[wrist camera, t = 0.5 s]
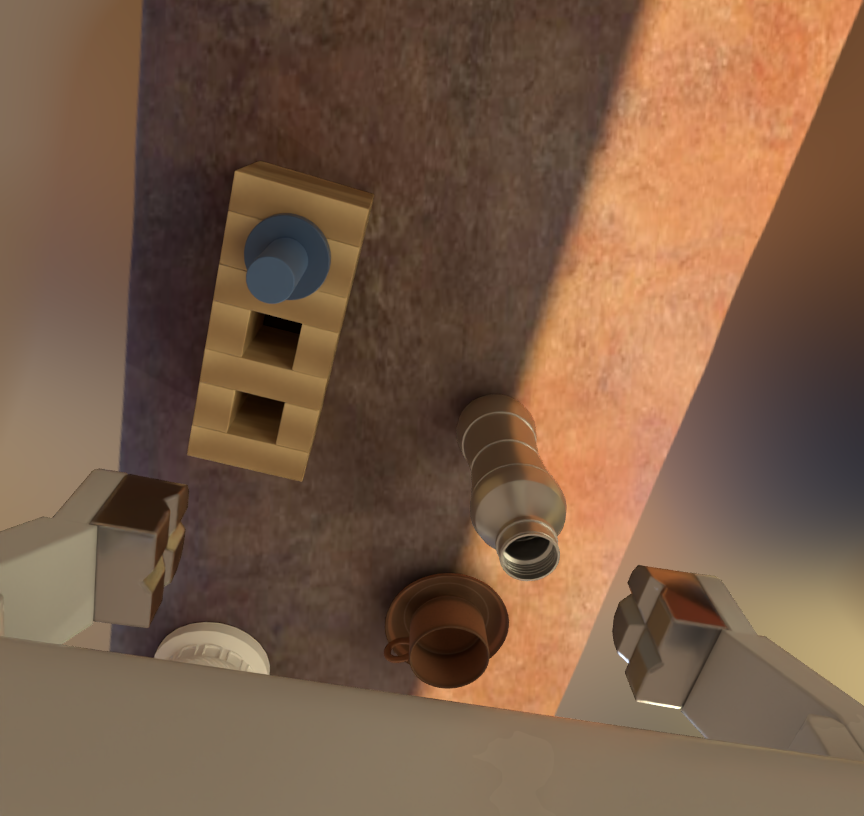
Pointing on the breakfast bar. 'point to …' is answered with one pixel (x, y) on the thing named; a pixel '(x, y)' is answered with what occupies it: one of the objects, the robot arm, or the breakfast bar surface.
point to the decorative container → (214, 648)
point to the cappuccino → (446, 628)
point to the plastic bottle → (511, 486)
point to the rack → (274, 329)
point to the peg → (286, 258)
